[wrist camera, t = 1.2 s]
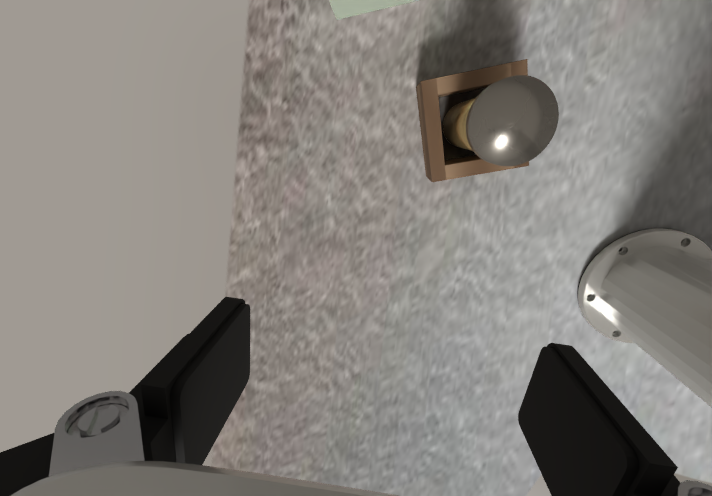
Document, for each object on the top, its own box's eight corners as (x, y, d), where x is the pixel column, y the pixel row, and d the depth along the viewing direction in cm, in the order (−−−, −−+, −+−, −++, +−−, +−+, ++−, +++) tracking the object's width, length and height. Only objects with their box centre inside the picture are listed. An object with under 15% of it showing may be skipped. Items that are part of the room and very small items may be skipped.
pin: (491, 90, 30) (559, 66, 18) (494, 147, 31) (558, 158, 20) (434, 101, 30) (466, 85, 19) (440, 157, 32) (472, 173, 21)
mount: (508, 68, 29) (527, 59, 25) (511, 161, 32) (528, 165, 28) (416, 87, 30) (421, 81, 26) (426, 176, 33) (432, 182, 29)
